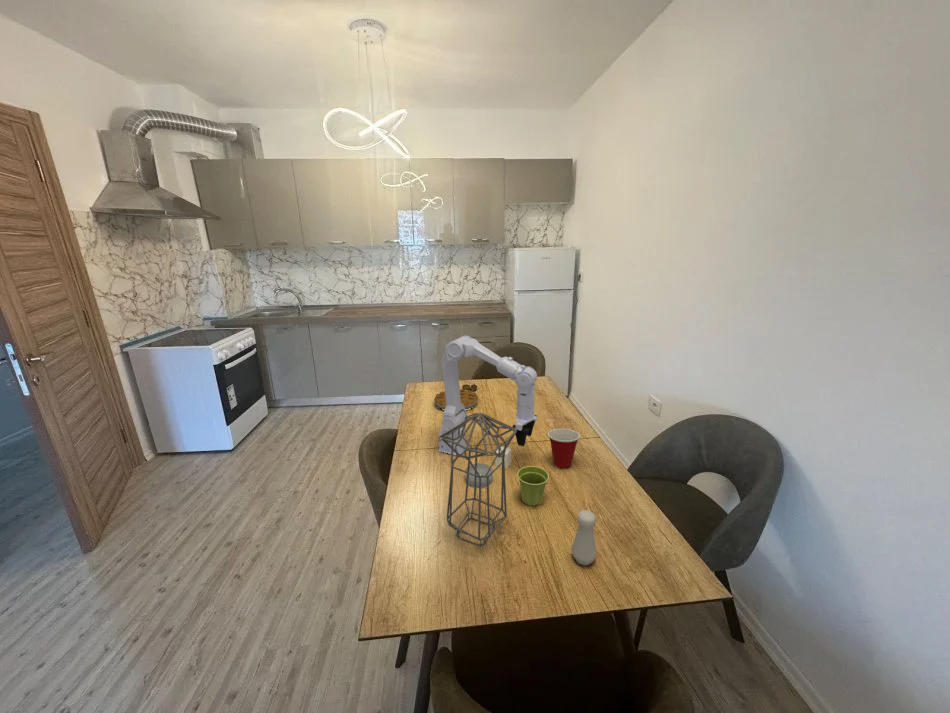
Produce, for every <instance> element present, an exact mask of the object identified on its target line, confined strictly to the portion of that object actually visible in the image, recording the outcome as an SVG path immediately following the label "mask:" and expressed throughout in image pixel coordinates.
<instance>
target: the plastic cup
mask: <svg viewBox="0 0 950 713" xmlns="http://www.w3.org/2000/svg"><path fill="white" fill-rule="evenodd" d="M547 437H548V438H549V442H550V447H551V453H552V454H551V455H552V462H553V465H554V464H555V465H556V466H557V467H556V466H555V465H554V466H555V467H556V468H558V467H560V468H567V469H569V468H570V467H571V465H572V463H573V459H574V456H575V451H576V448H577V444H578V441H579V439H580V437H581V435H580V433H579V432H578V431H576V430H573V429H569V428H554V429H553V428H552V429H551V430H549V431H548V432H547ZM569 466H570V467H569ZM568 467H569V468H568ZM560 468H559V469H560Z"/></svg>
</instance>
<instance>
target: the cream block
mask: <svg viewBox="0 0 950 713" xmlns="http://www.w3.org/2000/svg"><path fill="white" fill-rule="evenodd" d="M504 447H505V446H501V447H500V448H501V451H502V450H503V449H504ZM501 451H500V453H501ZM496 453H497V454H499V453H498V450H497V451H496ZM512 453H513V449H512V448H510V447H507V448H506V452H505V458H504V461H505V469H506V468H507V469H509V467H510V465H511V464H512V463H513V462H512V461H513V460H512V457H513V456H512ZM501 456H502V455H501ZM495 457H496V455H494V458H495ZM500 463H502V457H500V458H499V457H498V456H497V458H496V460H495V462H494V466H495V465H496V466H495V467H497V466H498V465H499V464H500ZM510 463H511V464H510ZM508 466H509V467H508ZM500 468H502V465H501V467H500Z"/></svg>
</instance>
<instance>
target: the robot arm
mask: <svg viewBox="0 0 950 713" xmlns="http://www.w3.org/2000/svg"><path fill="white" fill-rule="evenodd" d="M463 357H464V358H469V357H476V358H479V359H481V360H483V361H485V362H487V363H489V364H491V365H493V366H495V367H496V370H497V372H498V373H500V374H502V375H504V376H505V377H507V378H508V379H510V380H512V381H514V383H515V385H516V386H517V389H516V390H517V391H516V415H515V418H516V419H515V421H516V422H515V424H513V425H512V426H511V427H514V428H515V429H516V430H517V432H516V434H515V436H514V437H515V438H516V439H515V440H516V444H517V446H519V447H520V446H521V447H525V445H526V440H527V437H531V436H532V434H533V430H534V426H535V423H536V421H537V420H538V415H536V414H535V394H536V390H535V389H536V388H535V385H536V384H535V382H537V380H538V374H537V371H536V370H535V368H533V367H532V366H526V365H524V364H521V363H518V362H517V361H515V360H513V359H514V357H511V356H509V357H508V356H503V357H501V356H499V355H498V354H497V353H495V352H493V351H492V350H490V349H489V348H487V347H485V346H484V345H483V344H481V343H480V342H479V341H478V340H477V339H475V338H472V337H471V336H469V335H462V336H461V337H459V338H457V339H454V340H452V341H449V342H448V343H447V344H446V345H445V346H444V351H443V355H442V357H441V366H442V376H443V377H442V378H443V385H444V391H445V397H446V407H445V410H444V411H443V413H442V420H441V425H442V426H441V428H440V429H439V433H438V437H439V436H440V435H442V434H444V433H445V432H447V431H449V430H451V429H452V428H454V427H456V426H457V425H459V424H461V423H462V422H463V421H464V420H465V417H467V416H469V415H468V413H467V411H465V407H464V405H463V404H462V403H461V398H460V390H461V389H460V388H461V387H460V379H459V367H458V366H459V365H458V362H459V361H460V360H461V359H462V358H463ZM462 429H463V427H462V428H460V434H459V436H460V435H461V432H462ZM465 430H466V429H464V432H465ZM464 432H463V433H464ZM513 432H514V431H512V433H513ZM446 436H447V435H446ZM447 437H451V438H452V434H450V435H449V436H447ZM456 437H458V429H457V430H456V431H455V432H453V438H456ZM441 439H442V438H441V437H440V440H441ZM459 439H460V438H459ZM459 439H457V440H454V442H458V440H459ZM464 439H465V440H466V434H465V435H464ZM464 439H463V438H462V440H461V441H460V443H459V444H461V445H463V446H465V447H466V445H467V444H466V441H465V440H464ZM448 440H450V439H448ZM451 441H452V440H451ZM448 443H449V444H450V445H451V446H452V443H450V442H448ZM455 445H456V444H454V449H455ZM438 446H439V447H438V448H439V449H438V452H439V453H443V452H444V453H443V454H447V453H448V455H451V450H452V449H451V448H450V447H449V446H448V445H447V444H446V443H444V442H443V441H442V440H441V441H440V442H439V441H438ZM456 447H457V452H458V453H459V454H461V453H462V452H463V451H464V450H465V449H463V448H462V447H460V446H456ZM468 448H470V446H468ZM453 456H456V453H455V452H454V451H453Z"/></svg>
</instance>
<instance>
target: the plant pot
mask: <svg viewBox="0 0 950 713" xmlns="http://www.w3.org/2000/svg"><path fill="white" fill-rule="evenodd" d="M516 474H517V479H518V480H519V486H520V492H521V500H522V501H523V502H524V504H526V505H528V506H531V507H532V506H534V507H535V506H536V505H540V504H542V502H543V498H544V494H545V488H546V485H547V483H548V481H549V479H550V474H549V472H547V470H545V469H544V468H542V467H539V466H536V465H527V466H523V467H522V468H519V469H518V471H517V473H516Z"/></svg>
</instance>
